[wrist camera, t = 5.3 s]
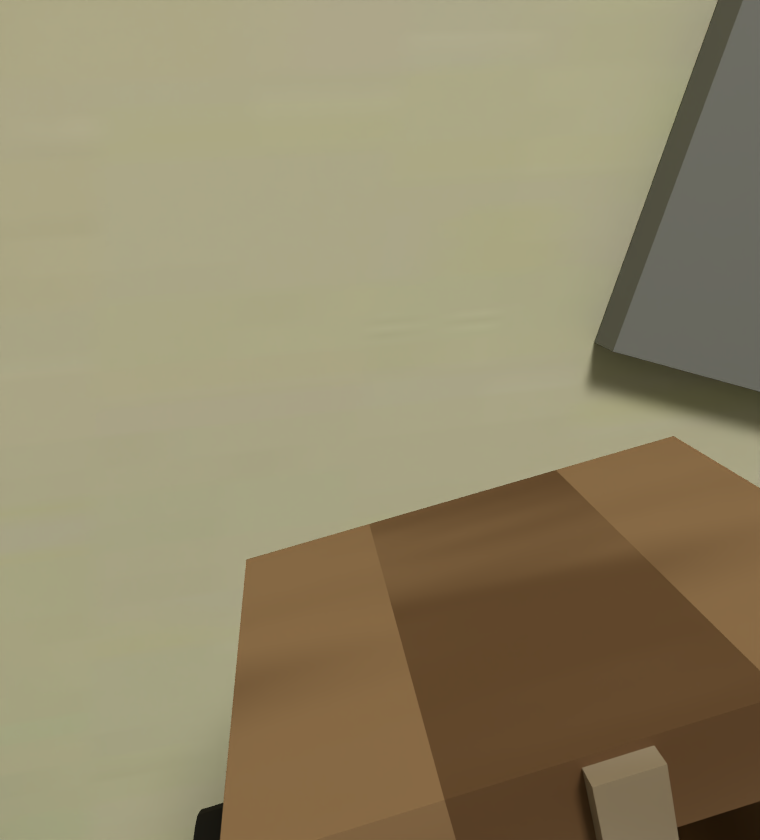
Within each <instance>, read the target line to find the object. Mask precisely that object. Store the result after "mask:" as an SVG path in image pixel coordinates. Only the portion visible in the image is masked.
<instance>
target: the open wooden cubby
mask: <svg viewBox="0 0 760 840" xmlns="http://www.w3.org/2000/svg"><path fill="white" fill-rule="evenodd" d="M220 840H760V488H759V487H757V486H755V485H754V484H752V483H750V482H749V481H747V480H745V479H744V478H742V477H740V476H739V475H737V474H735V473H734V472H732V471H730V470H729V469H727V468H725V467H724V466H722V465H720V464H719V463H717V462H716V461H714V460H712V459H711V458H709V457H707V456H706V455H704V454H702V453H701V452H699V451H697V450H696V449H694V448H692V447H691V446H689V445H687V444H686V443H684V442H682V441H681V440H679V439H677V438H676V437H674V436H672V437H669V438H665V439H662V440H659V441H655V442H652V443H648V444H645V445H641V446H638V447H634V448H631V449H627V450H624V451H621V452H617V453H614V454H610V455H607V456H603V457H600V458H596V459H593V460H589V461H586V462H582V463H579V464H576V465H572V466H569V467H565V468H562V469H558V470H555V471H551V472H548V473H544V474H541V475H538V476H534V477H531V478H527V479H524V480H520V481H517V482H513V483H510V484H506V485H503V486H499V487H496V488H493V489H489V490H486V491H482V492H479V493H475V494H472V495H468V496H465V497H461V498H458V499H454V500H451V501H448V502H444V503H441V504H437V505H434V506H430V507H427V508H423V509H420V510H416V511H413V512H410V513H406V514H403V515H399V516H396V517H392V518H389V519H385V520H382V521H378V522H375V523H371V524H368V525H365V526H361V527H358V528H354V529H351V530H347V531H344V532H340V533H337V534H333V535H330V536H327V537H323V538H320V539H316V540H313V541H309V542H306V543H302V544H299V545H295V546H292V547H288V548H285V549H282V550H278V551H275V552H271V553H268V554H264V555H261V556H257V557H254V558H250V559H247V560H246V570H245V581H244V591H243V602H242V612H241V623H240V634H239V644H238V655H237V665H236V676H235V686H234V697H233V708H232V718H231V729H230V739H229V750H228V761H227V771H226V782H225V792H224V803H223V814H222V824H221V835H220Z"/></svg>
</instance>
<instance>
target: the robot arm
mask: <svg viewBox="0 0 760 840" xmlns="http://www.w3.org/2000/svg"><path fill="white" fill-rule="evenodd" d="M222 814H223V803H221V804H218V805H215V806H211V807H208V808H205V809H202V810H201V811H200V812H199V814H198V816H197V821H196V825H195V832H194V839H193V840H220V835H221V824H222Z"/></svg>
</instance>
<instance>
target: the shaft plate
mask: <svg viewBox="0 0 760 840" xmlns="http://www.w3.org/2000/svg"><path fill="white" fill-rule="evenodd" d="M595 343H597V344H599V345H601V346H603V347H605V348H607V349H609V350H611V351H613V352H617V353H620V354H624V355H628V356H631V357H635V358H639V359H642V360H646V361H650V362H653V363H657V364H661V365H664V366H668V367H672V368H675V369H679V370H683V371H686V372H690V373H694V374H697V375H701V376H705V377H708V378H712V379H716V380H719V381H723V382H727V383H730V384H734V385H738V386H741V387H745V388H749V389H752V390H756V391H759V392H760V0H718V3H717V6H716V9H715V11H714V14H713V17H712V20H711V23H710V25H709V28H708V31H707V34H706V36H705V39H704V42H703V45H702V47H701V50H700V53H699V56H698V58H697V61H696V64H695V67H694V69H693V72H692V75H691V78H690V81H689V83H688V86H687V89H686V92H685V94H684V97H683V100H682V103H681V105H680V108H679V111H678V114H677V116H676V119H675V122H674V125H673V127H672V130H671V133H670V136H669V138H668V141H667V144H666V147H665V150H664V152H663V155H662V158H661V161H660V163H659V166H658V169H657V172H656V174H655V177H654V180H653V183H652V185H651V188H650V191H649V194H648V196H647V199H646V202H645V205H644V207H643V210H642V213H641V216H640V219H639V221H638V224H637V227H636V230H635V232H634V235H633V238H632V241H631V243H630V246H629V249H628V252H627V254H626V257H625V260H624V263H623V265H622V268H621V271H620V274H619V276H618V279H617V282H616V285H615V288H614V290H613V293H612V296H611V299H610V301H609V304H608V307H607V310H606V312H605V315H604V318H603V321H602V323H601V326H600V329H599V332H598V334H597V337H596V340H595Z"/></svg>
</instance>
